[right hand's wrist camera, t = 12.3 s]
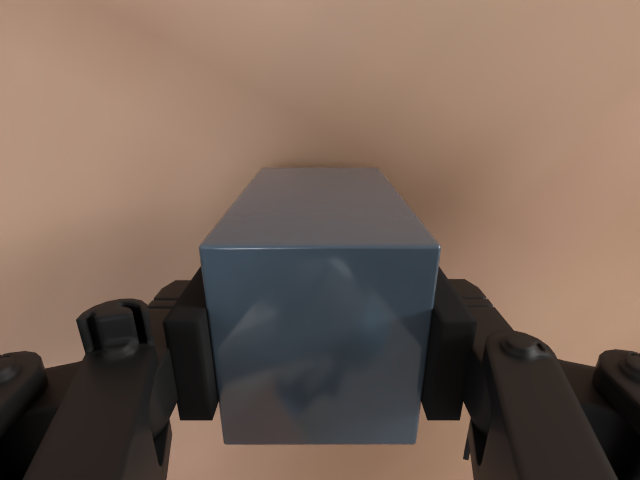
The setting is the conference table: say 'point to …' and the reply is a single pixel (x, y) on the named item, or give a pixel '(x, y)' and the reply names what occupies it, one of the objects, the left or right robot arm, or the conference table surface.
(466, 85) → the conference table surface
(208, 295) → the brick
